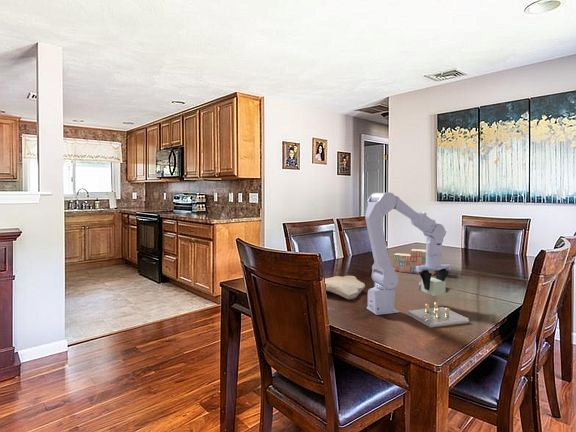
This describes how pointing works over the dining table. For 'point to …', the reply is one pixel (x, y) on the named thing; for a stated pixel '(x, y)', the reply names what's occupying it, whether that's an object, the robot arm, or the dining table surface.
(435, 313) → the base plate
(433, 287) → the block
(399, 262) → the stack of blocks
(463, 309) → the dining table surface
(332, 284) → the cream rock
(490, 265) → the dining table surface
